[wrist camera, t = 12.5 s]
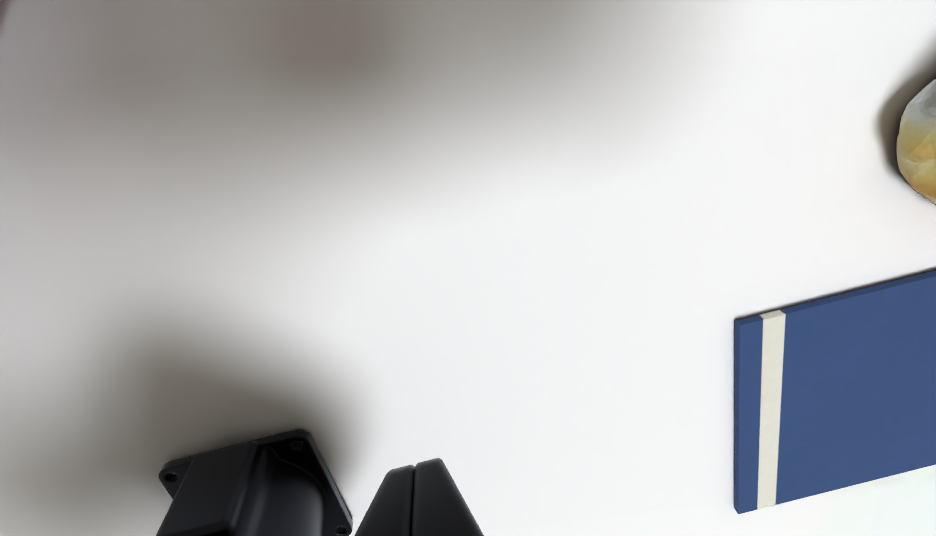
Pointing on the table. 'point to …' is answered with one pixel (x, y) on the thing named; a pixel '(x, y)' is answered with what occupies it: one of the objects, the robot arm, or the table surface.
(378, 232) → the table surface
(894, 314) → the napkin
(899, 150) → the pastry
